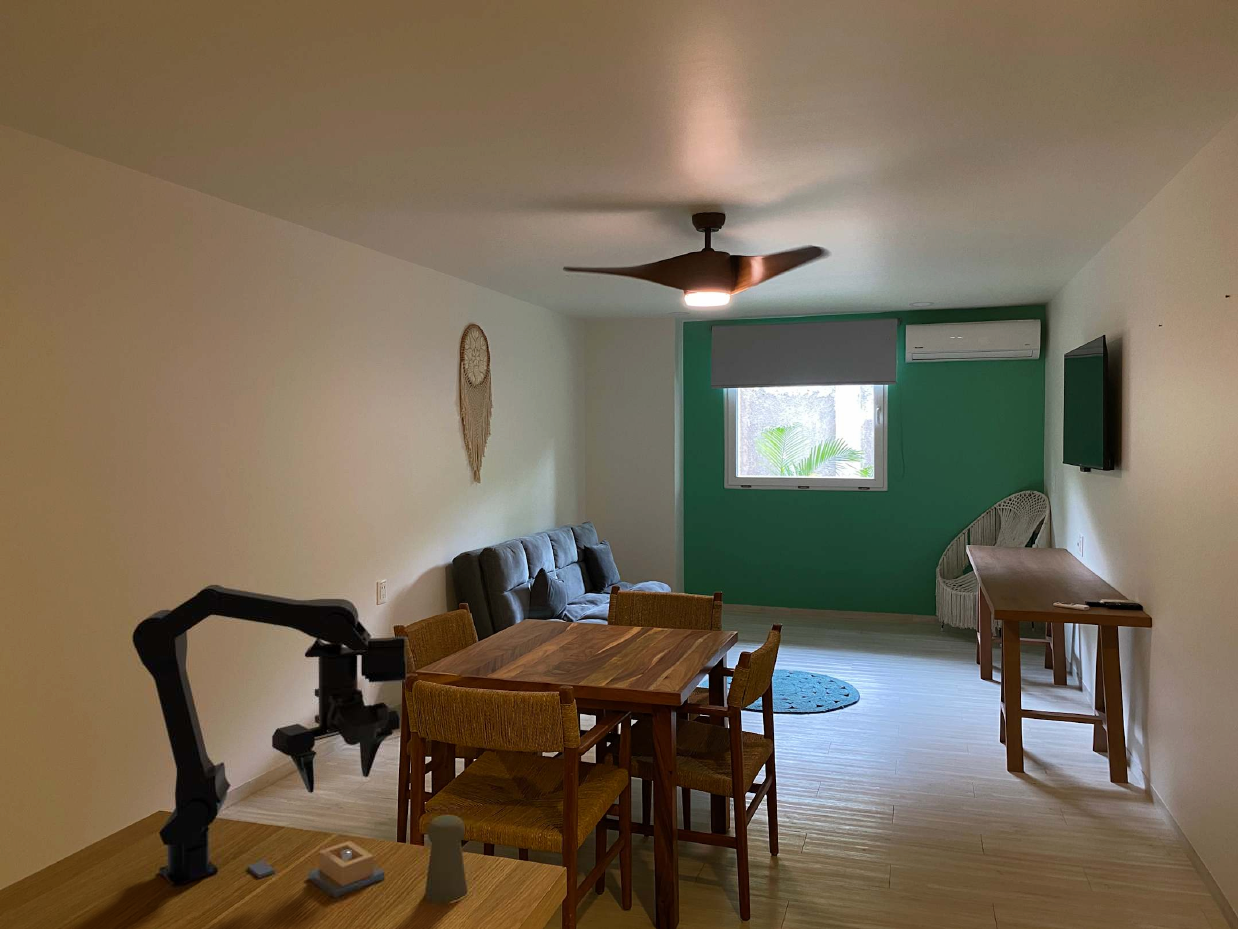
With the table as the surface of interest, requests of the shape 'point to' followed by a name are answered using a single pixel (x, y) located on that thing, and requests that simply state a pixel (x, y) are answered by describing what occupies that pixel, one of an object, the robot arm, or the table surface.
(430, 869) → the olive game pawn
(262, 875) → the grey rectangular block
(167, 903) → the table surface
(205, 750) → the robot arm
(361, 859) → the link
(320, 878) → the plate
